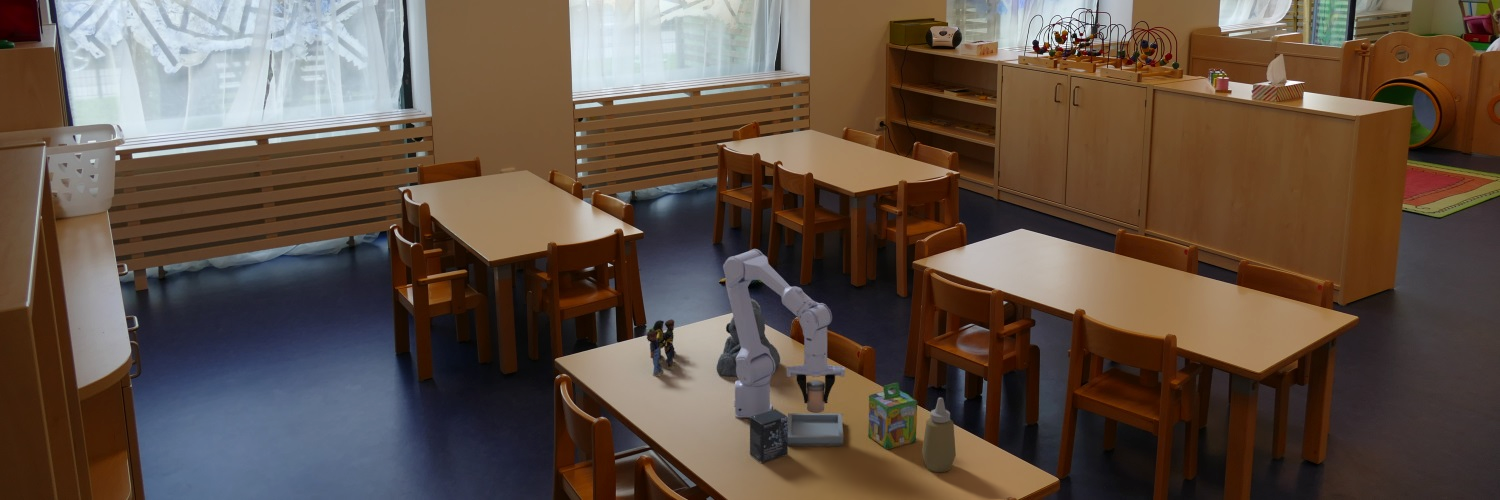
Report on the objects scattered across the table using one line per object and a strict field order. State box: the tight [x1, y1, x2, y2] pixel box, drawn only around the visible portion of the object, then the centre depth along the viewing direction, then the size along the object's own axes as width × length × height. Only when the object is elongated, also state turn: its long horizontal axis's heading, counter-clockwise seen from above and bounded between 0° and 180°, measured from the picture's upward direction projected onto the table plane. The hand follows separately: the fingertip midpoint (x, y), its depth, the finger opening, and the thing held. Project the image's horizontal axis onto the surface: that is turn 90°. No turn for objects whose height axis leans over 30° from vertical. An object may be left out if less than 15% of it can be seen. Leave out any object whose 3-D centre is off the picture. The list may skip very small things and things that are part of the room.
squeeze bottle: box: [921, 397, 957, 473], centre depth 280 cm, size 8×8×18 cm
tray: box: [787, 412, 844, 447], centre depth 301 cm, size 14×14×2 cm
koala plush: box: [716, 298, 781, 377], centre depth 341 cm, size 17×18×20 cm
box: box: [749, 408, 789, 464], centre depth 288 cm, size 8×6×11 cm
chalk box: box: [867, 382, 918, 450], centre depth 295 cm, size 9×9×15 cm
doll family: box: [645, 319, 678, 377], centre depth 345 cm, size 23×9×13 cm, turn 6°
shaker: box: [806, 379, 825, 413], centre depth 298 cm, size 5×5×7 cm
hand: (815, 401), depth 298 cm, fingers closed on shaker, 4 cm apart
